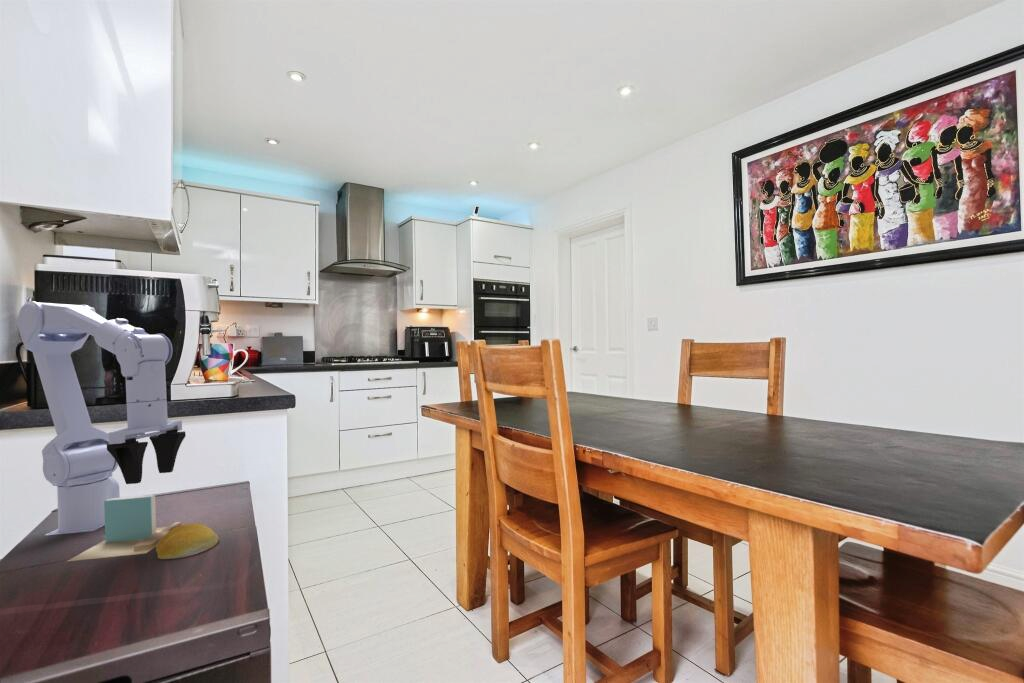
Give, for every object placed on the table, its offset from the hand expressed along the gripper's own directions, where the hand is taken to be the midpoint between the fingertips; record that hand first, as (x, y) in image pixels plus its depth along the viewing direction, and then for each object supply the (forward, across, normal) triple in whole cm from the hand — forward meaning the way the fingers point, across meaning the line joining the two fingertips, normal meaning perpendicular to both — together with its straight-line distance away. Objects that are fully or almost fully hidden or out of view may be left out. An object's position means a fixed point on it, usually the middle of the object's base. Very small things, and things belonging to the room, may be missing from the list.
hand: (150, 477), depth 85 cm
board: (+10, -4, +1) cm, 11 cm away
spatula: (+10, -3, -4) cm, 11 cm away
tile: (+10, -2, +2) cm, 10 cm away
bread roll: (+11, -7, -11) cm, 17 cm away
